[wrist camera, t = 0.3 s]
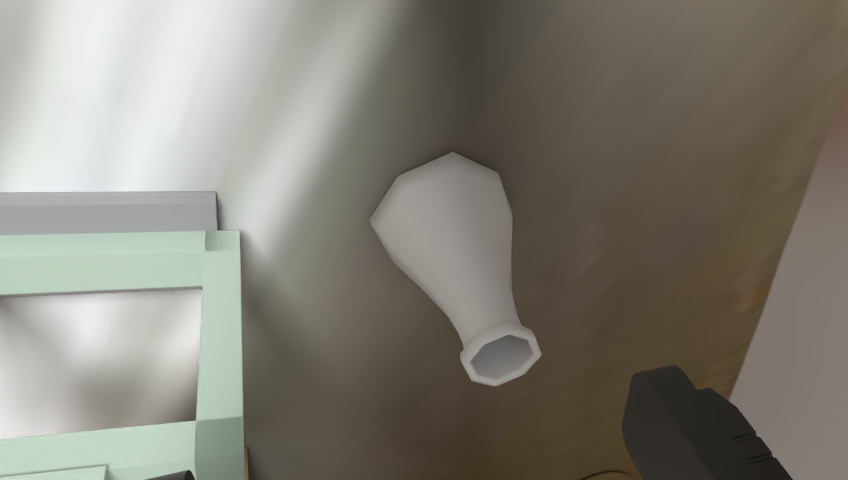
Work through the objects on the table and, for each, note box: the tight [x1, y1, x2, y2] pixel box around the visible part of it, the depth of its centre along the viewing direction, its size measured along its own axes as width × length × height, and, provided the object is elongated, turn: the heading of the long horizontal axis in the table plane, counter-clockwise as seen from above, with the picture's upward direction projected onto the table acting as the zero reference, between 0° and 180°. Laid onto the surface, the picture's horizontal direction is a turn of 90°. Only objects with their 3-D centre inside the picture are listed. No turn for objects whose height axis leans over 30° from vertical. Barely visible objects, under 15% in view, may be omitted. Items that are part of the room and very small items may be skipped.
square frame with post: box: [0, 191, 245, 480], centre depth 22 cm, size 5×12×19 cm, turn 82°
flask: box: [368, 152, 542, 387], centre depth 29 cm, size 7×7×10 cm
